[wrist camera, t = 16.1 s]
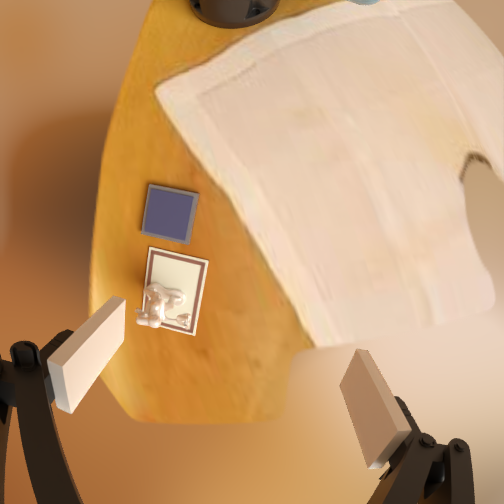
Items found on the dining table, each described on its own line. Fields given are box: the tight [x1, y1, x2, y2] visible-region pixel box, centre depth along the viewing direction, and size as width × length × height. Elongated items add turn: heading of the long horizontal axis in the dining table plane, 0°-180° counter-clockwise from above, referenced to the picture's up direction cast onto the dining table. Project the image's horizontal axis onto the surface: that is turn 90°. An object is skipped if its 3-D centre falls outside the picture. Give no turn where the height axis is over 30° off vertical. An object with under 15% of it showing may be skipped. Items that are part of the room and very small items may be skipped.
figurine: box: [135, 283, 191, 330], centre depth 43 cm, size 5×9×12 cm, turn 87°
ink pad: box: [141, 184, 199, 245], centre depth 45 cm, size 8×8×1 cm
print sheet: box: [142, 247, 209, 336], centre depth 49 cm, size 14×10×1 cm
